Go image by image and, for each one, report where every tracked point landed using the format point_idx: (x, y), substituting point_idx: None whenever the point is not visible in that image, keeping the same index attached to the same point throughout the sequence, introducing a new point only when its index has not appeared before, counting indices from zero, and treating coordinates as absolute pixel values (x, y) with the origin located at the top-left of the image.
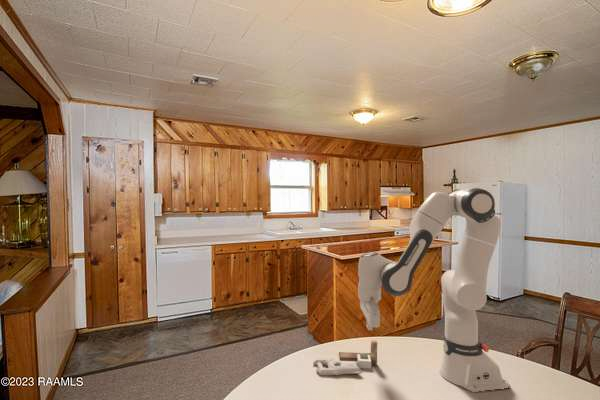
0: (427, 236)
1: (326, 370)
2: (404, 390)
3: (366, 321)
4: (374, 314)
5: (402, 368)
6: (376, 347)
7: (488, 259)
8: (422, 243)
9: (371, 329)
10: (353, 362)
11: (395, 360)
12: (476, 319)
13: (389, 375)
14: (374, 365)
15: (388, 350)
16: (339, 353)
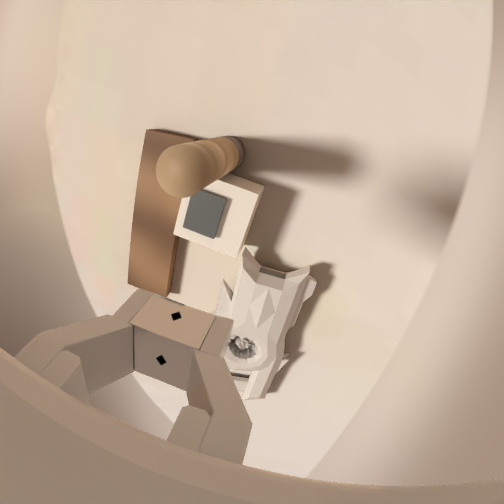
0: None
1: (265, 386)
2: (455, 132)
3: (112, 381)
4: (99, 481)
5: (295, 25)
6: (214, 156)
7: None
8: None
9: (230, 334)
10: (245, 287)
11: (216, 24)
12: None
13: (342, 124)
14: (244, 157)
15: (125, 28)
16: (138, 287)
